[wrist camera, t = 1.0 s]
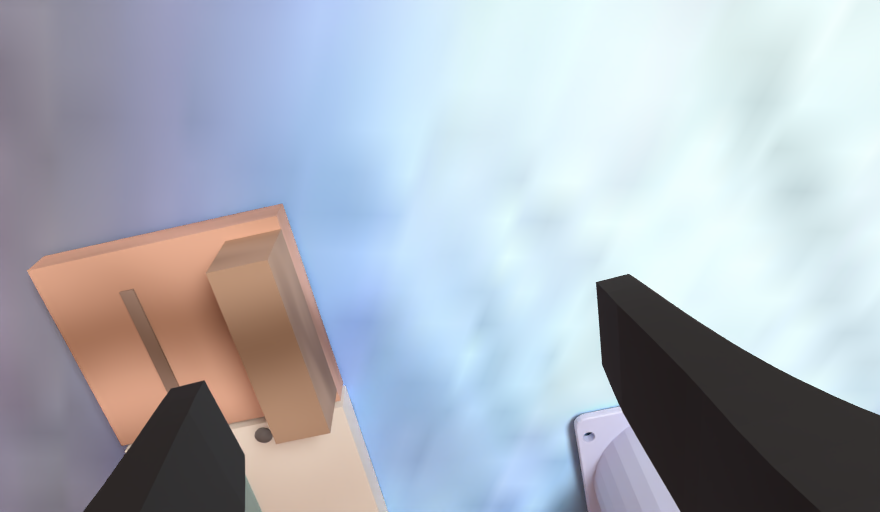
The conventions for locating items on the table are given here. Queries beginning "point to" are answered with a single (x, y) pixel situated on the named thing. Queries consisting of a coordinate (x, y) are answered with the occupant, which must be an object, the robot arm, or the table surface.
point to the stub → (198, 323)
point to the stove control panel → (309, 468)
